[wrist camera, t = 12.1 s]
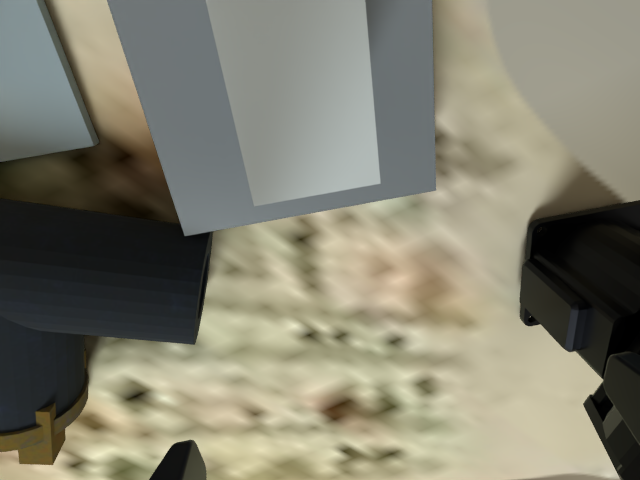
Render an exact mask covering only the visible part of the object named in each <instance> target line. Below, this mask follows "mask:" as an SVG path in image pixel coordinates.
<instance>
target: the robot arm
mask: <svg viewBox="0 0 640 480" xmlns="http://www.w3.org/2000/svg"><path fill="white" fill-rule="evenodd" d="M541 227H542V229H541V230H540V231H539V232H537V231H538V229H539V228H541ZM520 303H521V310H520V319H521V320H522V321H523V323H524V324H525V325H527V326H534V325H539V324H541V325H542V326H543V327H544V328H545V329H546V330H547V331H548V332H549V334H550V335H551V336H552V337H553V338H554V339H555V340H556V341H557V342H558V343H559V344H560V345H561V346H562V347H563V348H564V349H565V350H567V351H568V352H573V351H576V352H577V353H578V354H579V355H580V356H581V357H582V358H583V359H584V360H585V361H586V362H587V363H588V365H589V366H590V367H591V368H592V369H593V370H594V371H595V372H596V373H597V374H598V375H599V376H600V377H601V378H602V379H603V382H602V383H601V384H600V386H599V387H598V389H597V390H596V391H595V393H594V394H593V395H589V397H588V398H587V399H586V401H585V402H584V403H583V405H584V407H585V409H586V411H587V413H588V415H589V417H590V419H591V421H592V423H593V425H594V427H595V429H596V431H597V433H598V435H599V437H600V439H601V441H602V443H603V445H604V447H605V449H606V451H607V453H608V455H609V457H610V459H611V461H612V463H613V465H614V467H615V469H616V471H617V473H618V475H619V477H620V479H621V480H640V200H639V201H633V202H628V203H623V204H617V205H612V206H606V207H601V208H596V209H590V210H585V211H580V212H574V213H569V214H564V215H558V216H553V217H548V218H542V219H538V220H535V221H533V222H532V223H531V224H530V225H529V227H528V232H527V243H526V255H525V262H524V264H523V268H522V280H521V291H520ZM530 316H531V317H530ZM529 317H530V318H529ZM149 480H206V467H205V463H204V461H203V458H202V456H201V454H200V451H199V449H198V447H197V444H196V443H195V441H193V440H187V441H182V442H177V443H175V444H174V445H172V446H171V448H170V449H169V451H168V452H167V454H166V455H165V457H164V458H163V460H162V461H161V463H160V464H159V466H158V467H157V469H156V470H155V472H154V473H153V475H152V476H151V478H150V479H149Z"/></svg>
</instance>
